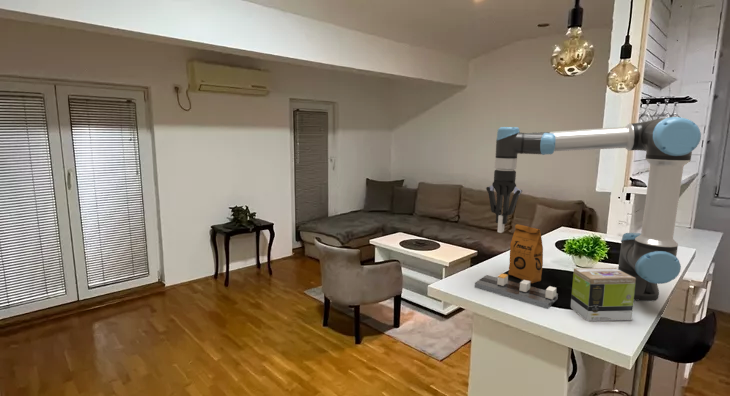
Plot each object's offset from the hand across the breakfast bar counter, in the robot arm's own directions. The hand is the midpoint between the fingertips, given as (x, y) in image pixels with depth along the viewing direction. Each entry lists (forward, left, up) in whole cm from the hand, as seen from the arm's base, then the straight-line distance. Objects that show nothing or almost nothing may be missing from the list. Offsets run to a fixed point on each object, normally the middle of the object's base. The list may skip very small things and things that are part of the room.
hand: (500, 231), depth 146 cm
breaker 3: (-20, 0, -20) cm, 28 cm away
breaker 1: (-2, 0, -20) cm, 20 cm away
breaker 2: (-11, 0, -20) cm, 23 cm away
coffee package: (-5, -18, -23) cm, 29 cm away
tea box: (-35, -2, -23) cm, 41 cm away
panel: (-7, 0, -22) cm, 23 cm away
